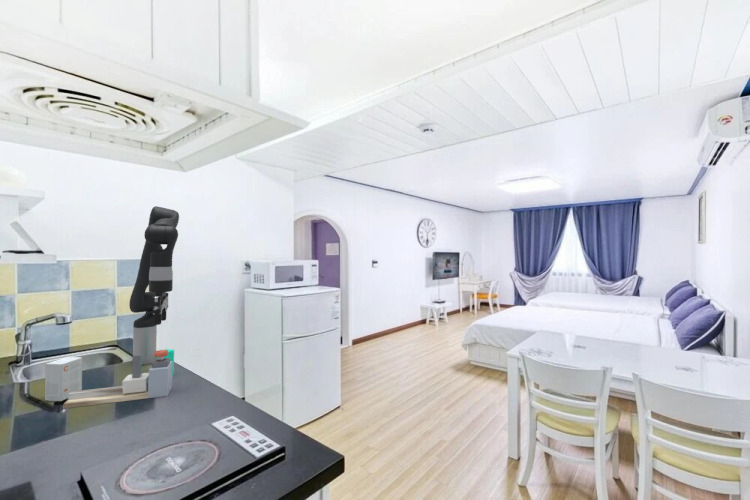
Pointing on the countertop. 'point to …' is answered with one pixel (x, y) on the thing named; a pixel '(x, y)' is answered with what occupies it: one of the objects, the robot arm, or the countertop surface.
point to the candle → (171, 356)
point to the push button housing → (160, 378)
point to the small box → (62, 378)
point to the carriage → (136, 377)
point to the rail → (101, 396)
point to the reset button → (161, 354)
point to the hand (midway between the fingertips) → (160, 322)
